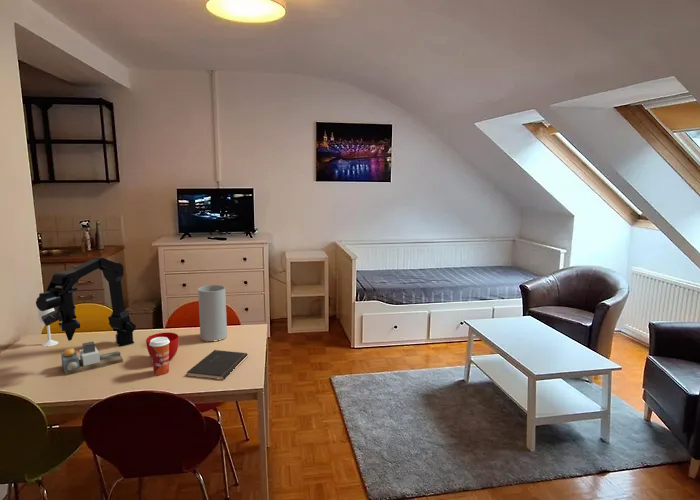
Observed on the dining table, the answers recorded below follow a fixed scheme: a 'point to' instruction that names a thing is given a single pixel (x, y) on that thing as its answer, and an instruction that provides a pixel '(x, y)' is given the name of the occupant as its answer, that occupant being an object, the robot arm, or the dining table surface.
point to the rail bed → (75, 365)
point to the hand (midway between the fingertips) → (69, 340)
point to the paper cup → (160, 355)
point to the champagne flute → (40, 314)
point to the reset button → (69, 352)
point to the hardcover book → (217, 364)
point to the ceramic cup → (172, 345)
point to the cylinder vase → (212, 312)
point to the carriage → (89, 354)
